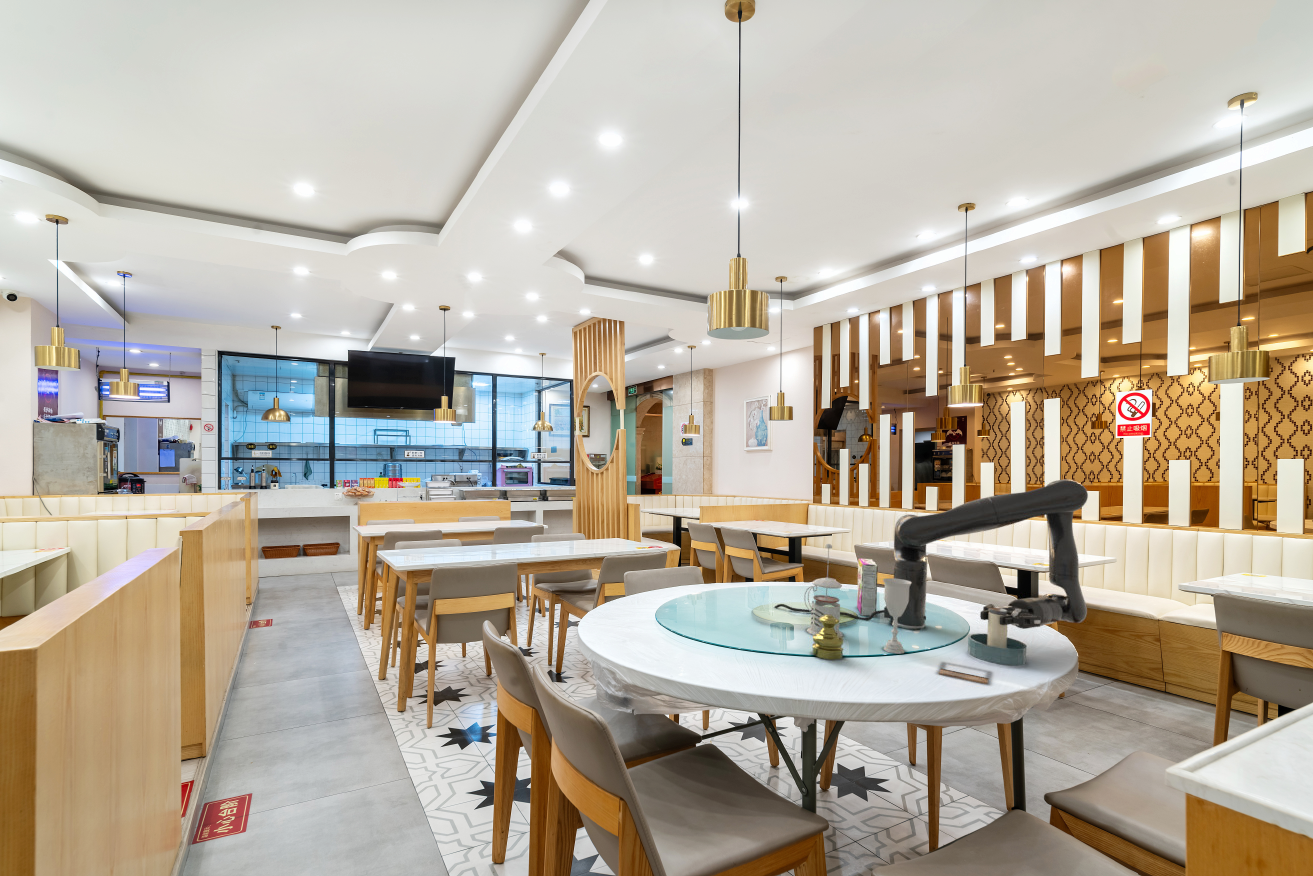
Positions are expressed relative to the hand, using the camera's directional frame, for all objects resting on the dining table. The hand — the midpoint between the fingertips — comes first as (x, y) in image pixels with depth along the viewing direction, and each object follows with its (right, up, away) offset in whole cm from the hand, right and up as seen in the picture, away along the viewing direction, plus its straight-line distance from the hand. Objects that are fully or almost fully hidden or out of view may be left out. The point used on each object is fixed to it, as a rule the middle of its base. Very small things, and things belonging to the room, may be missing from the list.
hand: (991, 618), depth 157 cm
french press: (-39, -9, +17) cm, 43 cm away
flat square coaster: (-13, -10, -11) cm, 19 cm away
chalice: (-24, -10, +4) cm, 26 cm away
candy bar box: (-18, -11, +43) cm, 48 cm away
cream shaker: (+2, -10, +1) cm, 10 cm away
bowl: (+2, -11, +1) cm, 11 cm away
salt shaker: (-43, -8, -4) cm, 44 cm away
